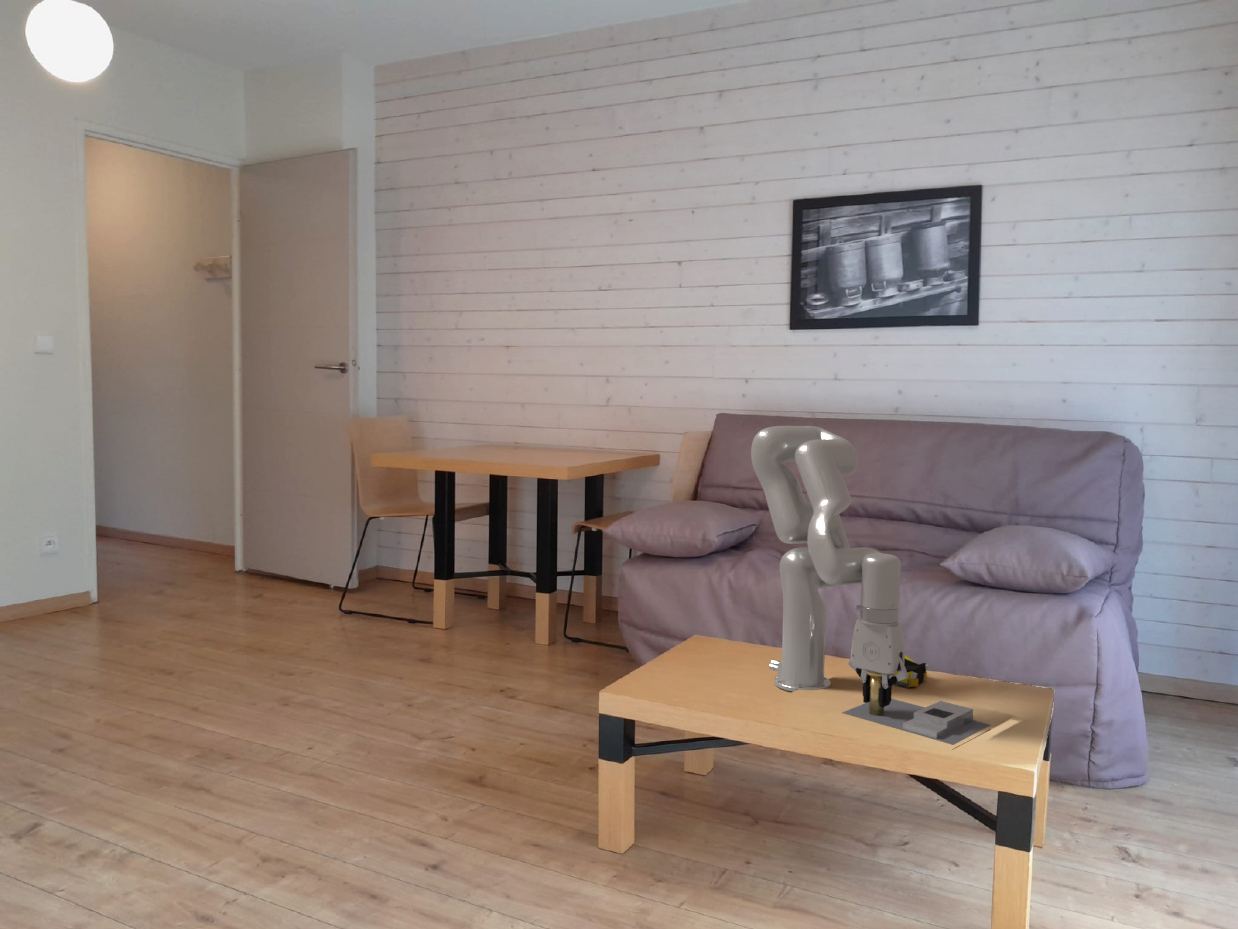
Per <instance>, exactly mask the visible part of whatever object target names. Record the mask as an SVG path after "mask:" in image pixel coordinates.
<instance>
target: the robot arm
mask: <svg viewBox="0 0 1238 929" xmlns="http://www.w3.org/2000/svg"><path fill="white" fill-rule="evenodd" d="M750 449H751V450H750V458H751V464H752V467H753V471H754V472H755V475H756V477H757V479H758V481H759V483H760V486H761V487H762V490H763V493H764V495H765V499H766V504H767V507H768V511H769V514H770V518H771V521H772V524H773V528H774V531H775V534H776V536H777V538H778V539H779V541H781V542H782V543H784V544H792V545H796V544H807V546H801V547H795V548H792V549H789V550H788V551H786V552H785V553H784V554H783V555H782V557H781V559H780V562H779V575H780V582H781V589H782V641H781V642H782V644H781V648H782V649H781V661H780V660H778V659H775V658H773V659H772V660H771V661H770V663H769V665H768V669H769V670H772V671H776V672H777V675H776V676H775V677H774V681H773V683H774V685H775V686H776V687H777V688H780V689H782V690H783V691H788V692H791V691H792V692H795V691H796V692H797V691H799V690H801V691H802V690H803V691H816V690H818V691H819V690H823V689H826V688H829V687H830V686H832V685H831V684H832V681H831V680H830V679H828V678H827V677H825V659H826V658H825V655H826V653H825V652H826V651H825V650H826V627H827V626H826V625H827V624H826V623H827V622H826V620H827V619H826V617H827V610H826V605H825V603H824V600H823V598H822V596H821V595H820V593H819V590H820V589H828V588H836V587H842V586H846V585H847V586H848V585H859V584H860V585H861V591H860V592H861V593H860V604H858V605H856V606H855V611H856V612H859V618H857V619H856V620H855V624H854V628H853V634H852V639H851V647H850V648H851V649H850V659H849V661H848V666H849V667H850V668H851V669H852V670H853V671H855V672H856V674H857V676H858V677H859V678H860V682H861V683H862V698H863V704H865V703H868V702H869V690H870V675H868V674H867V670H868V671H872V672H876V673H880V674H882V687H881V688H880V694H879V706H880V707H885V706H888V705H889V704H890V702H891V699H892V696H893V695H892V693H893V692H892V691H893V687H894V686H895V685H896V683H897V682H898V681H901V680H904V679H906V678H908V673H907V671H906V668H905V666H904V661H905V655H906V653H905V638H904V630H903V626H902V623H901V622H900V621H899V620H900V618H899V617H900V597H901V596H900V595H901V594H900V593H901V592H900V591H901V570H902V569H901V567H902V566H901V564H902V563H901V560H900V558H899V557H898V556H897V555H894V554H891V553H882V552H880V551H878V550H876V549H874V548H872V547H868V546H867V547H865V546H863V547H851V546H850V543H849V540H848V536H847V533H846V530H845V526H844V524H843V520H842V517H841V515H840V514H841V513H843V512H845V511H846V510H847V509H848V508H849V506H850V505H851V504H852V497H851V494H850V492H849V489H848V487H847V483H846V481H845V478H844V477H849V476H851V475H852V474H854V473H855V471H856V470H857V468H858V466H859V457H858V456H859V455H858V453H857V450H856V448H855V447H854V445H853V444H852V443H851V442H850V441H849V440H847V439H846V438H845V437H842V436H840V435H837V434H835V433H833V432H831V431H829V430H827V429H825V428H822V427H820V426H815V425H774V426H769V427H766V428H763V429H761V430H759V431H758V432H757V433H756V434H755V435H754V438H753V440H752V443H751V448H750ZM786 463H795V464H796V467H797V470H798V472H799V473H798V474H799V475H800V478H801V482H802V484H803V486H804V489H805V491H806V494H807V496H808V500H809V501H808V500H807V499H806V497H805V495H804V492H803V489H802V485H801V483H800V481H799V479H798V477H797V476H796V475H795V474H794V473H793V472H792V470H790V469H789V467H788V466H786ZM896 671H898V675H895V676H894V673H895V672H896ZM888 675H889V676H888Z"/></svg>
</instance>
